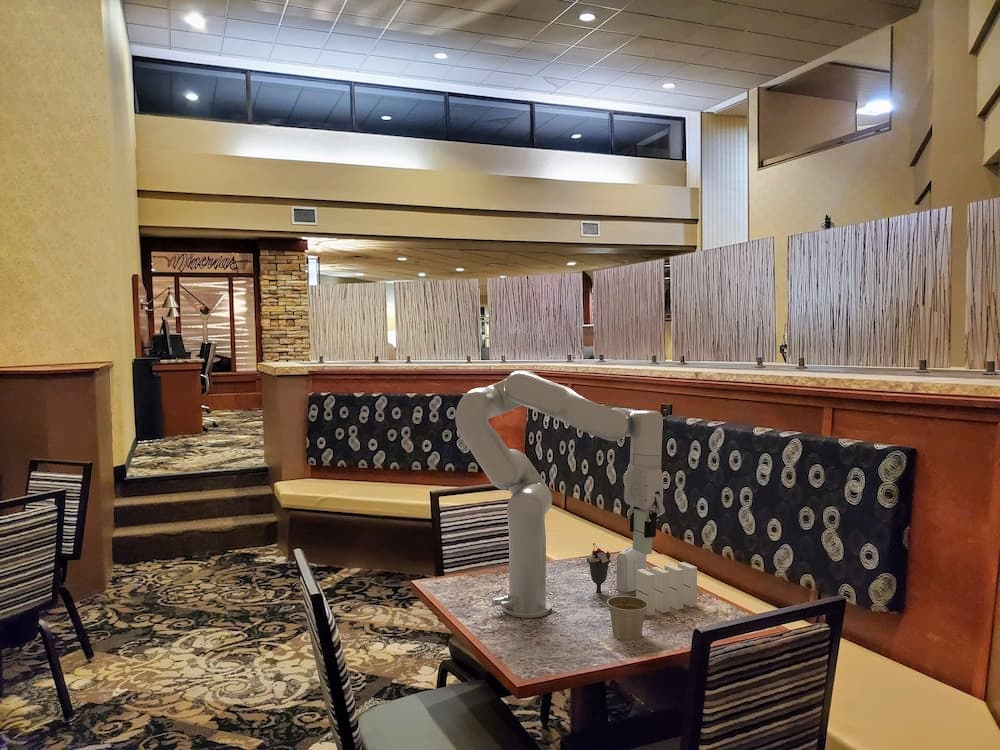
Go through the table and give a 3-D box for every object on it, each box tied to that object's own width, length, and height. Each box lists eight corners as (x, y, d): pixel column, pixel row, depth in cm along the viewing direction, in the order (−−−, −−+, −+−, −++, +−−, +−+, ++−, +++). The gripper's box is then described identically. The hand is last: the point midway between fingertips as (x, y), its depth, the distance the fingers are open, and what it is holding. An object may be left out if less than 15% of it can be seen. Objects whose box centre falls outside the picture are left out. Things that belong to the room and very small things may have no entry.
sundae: (584, 599, 182) (584, 544, 182) (589, 591, 188) (589, 538, 188) (608, 602, 180) (608, 546, 180) (613, 594, 186) (613, 540, 186)
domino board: (632, 627, 163) (632, 622, 163) (610, 615, 171) (610, 610, 171) (705, 612, 173) (705, 607, 173) (681, 601, 181) (681, 596, 181)
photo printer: (635, 585, 194) (635, 542, 194) (648, 588, 191) (648, 545, 191) (614, 593, 187) (614, 549, 187) (626, 597, 184) (627, 552, 184)
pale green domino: (645, 554, 164) (646, 513, 164) (632, 549, 168) (634, 509, 168) (651, 553, 165) (653, 513, 164) (639, 548, 169) (640, 508, 169)
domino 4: (690, 607, 173) (691, 568, 173) (677, 600, 178) (677, 563, 177) (696, 605, 174) (697, 567, 174) (683, 599, 178) (683, 562, 178)
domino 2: (662, 612, 169) (663, 573, 169) (650, 606, 174) (650, 567, 173) (669, 611, 170) (669, 571, 170) (656, 605, 175) (656, 566, 174)
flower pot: (623, 628, 162) (623, 592, 162) (656, 640, 155) (656, 603, 155) (598, 639, 156) (598, 602, 156) (631, 652, 149) (631, 613, 149)
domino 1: (648, 615, 167) (648, 575, 167) (635, 609, 172) (636, 569, 171) (655, 614, 168) (655, 574, 168) (642, 607, 173) (642, 568, 172)
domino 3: (677, 609, 171) (677, 570, 171) (664, 603, 176) (664, 565, 175) (683, 608, 172) (683, 569, 172) (670, 602, 176) (670, 564, 176)
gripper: (612, 456, 172) (609, 527, 173) (655, 467, 157) (652, 544, 157) (636, 455, 175) (633, 524, 176) (680, 465, 160) (677, 541, 160)
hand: (642, 533), depth 166 cm, fingers closed on pale green domino, 4 cm apart
